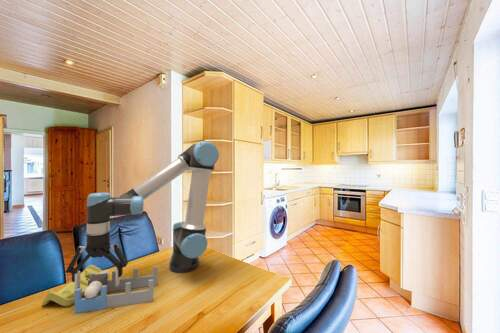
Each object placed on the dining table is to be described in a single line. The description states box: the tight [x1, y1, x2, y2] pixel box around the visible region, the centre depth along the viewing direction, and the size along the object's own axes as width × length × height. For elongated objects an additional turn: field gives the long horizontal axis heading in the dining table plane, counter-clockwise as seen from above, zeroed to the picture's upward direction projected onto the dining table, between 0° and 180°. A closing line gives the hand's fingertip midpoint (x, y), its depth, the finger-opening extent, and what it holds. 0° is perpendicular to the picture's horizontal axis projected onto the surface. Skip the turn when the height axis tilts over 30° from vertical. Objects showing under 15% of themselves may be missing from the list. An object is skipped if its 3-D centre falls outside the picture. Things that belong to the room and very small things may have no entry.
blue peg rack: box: [73, 265, 159, 314], centre depth 87 cm, size 26×13×8 cm, turn 106°
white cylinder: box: [83, 269, 111, 298], centre depth 85 cm, size 16×5×5 cm, turn 16°
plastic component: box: [41, 264, 103, 307], centre depth 90 cm, size 20×7×10 cm
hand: (97, 287), depth 85 cm, fingers open, 13 cm apart
